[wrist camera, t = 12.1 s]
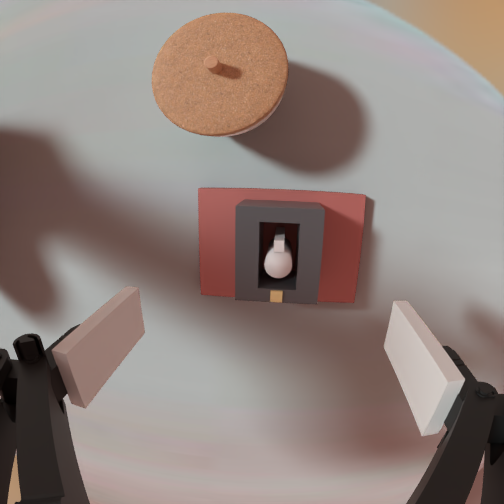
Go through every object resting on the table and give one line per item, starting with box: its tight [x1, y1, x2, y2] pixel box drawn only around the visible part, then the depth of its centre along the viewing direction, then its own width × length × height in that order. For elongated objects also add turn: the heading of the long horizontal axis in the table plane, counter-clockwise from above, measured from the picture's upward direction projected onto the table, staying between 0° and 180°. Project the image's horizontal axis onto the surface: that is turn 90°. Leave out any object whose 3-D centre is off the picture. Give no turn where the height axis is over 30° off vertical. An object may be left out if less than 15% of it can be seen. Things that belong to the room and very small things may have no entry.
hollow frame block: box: [235, 199, 325, 304], centre depth 27 cm, size 8×7×5 cm
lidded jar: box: [152, 13, 288, 137], centre depth 23 cm, size 11×11×9 cm
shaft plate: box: [198, 188, 366, 303], centre depth 28 cm, size 16×11×7 cm
